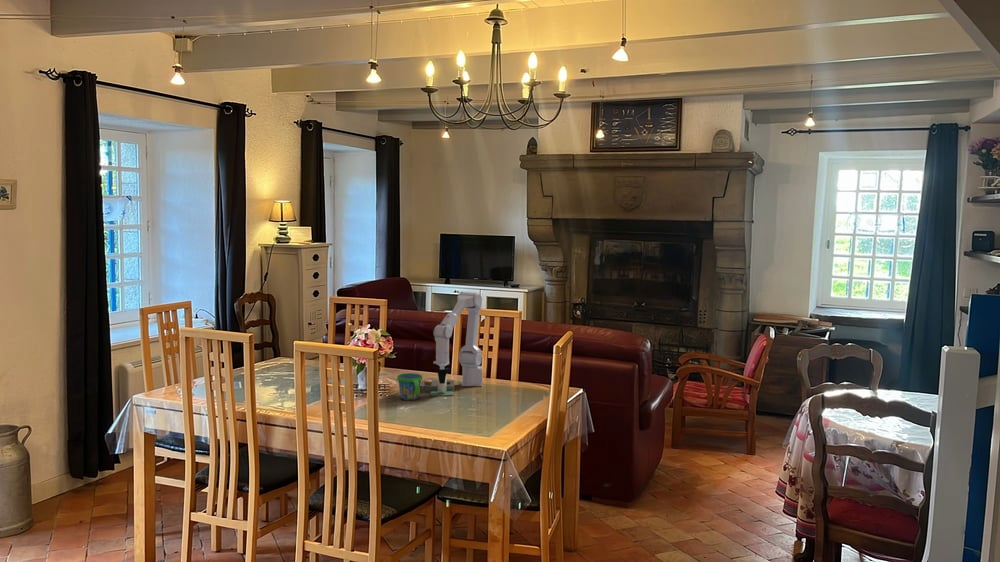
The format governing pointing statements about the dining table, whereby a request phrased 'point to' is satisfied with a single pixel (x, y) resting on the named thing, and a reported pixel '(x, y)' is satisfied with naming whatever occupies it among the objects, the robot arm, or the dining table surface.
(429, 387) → the housing
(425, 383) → the plunger
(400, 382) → the snack cup
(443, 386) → the cylinder
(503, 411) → the dining table surface
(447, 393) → the mat
